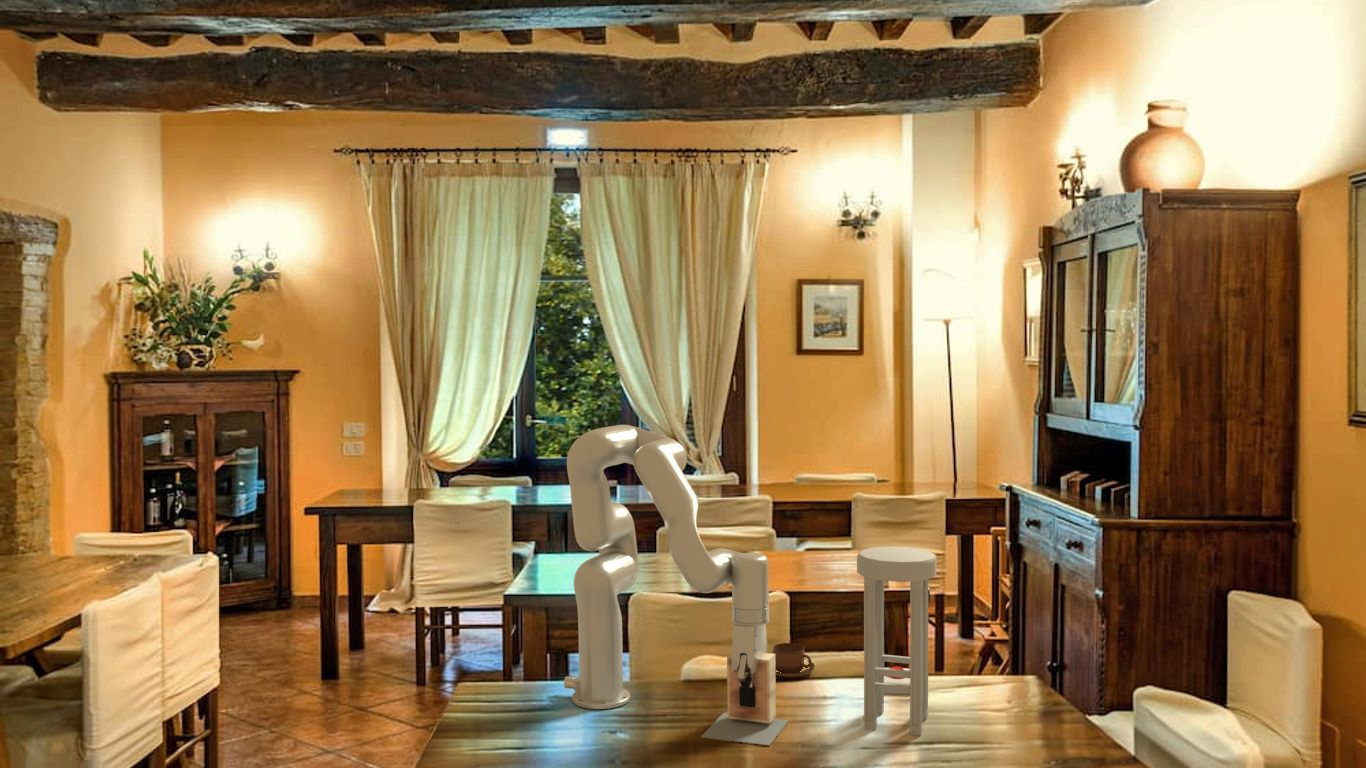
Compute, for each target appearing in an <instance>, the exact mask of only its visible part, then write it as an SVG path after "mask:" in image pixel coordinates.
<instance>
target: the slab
mask: <svg viewBox="0 0 1366 768" xmlns="http://www.w3.org/2000/svg"><path fill="white" fill-rule="evenodd" d="M726 666H727V667H726V670H727V671H726V672H727V673H726V674H727V675H726V679H727V680H726V681H727V682H726V683H727V685H726V686H727V688H726V689H727V690H726V691H727V696H726V697H727V713H728V718H730V719H738V720H746V721H754V722H762V723H771V721H772V720H773V719H776V715H777V708H776V707H777V701H776V700H777V699H776V698H777V696H776V693H777V692H776V691H777V690H776V689H777V688H776V685H777V684H776V681H777V680H776V679H777V676H776V668H775V654H773V653H770V652H767V653H764V654H763V655H762V657H760V658H759V661H758V669H757V672H755V673H754V687H755V707H746V706H740V687H739V680H738V672H739V669H738V671H737V672H733V671H732V651H731V652H729V653H728V654H727V656H726ZM739 666H740V663H739ZM739 666H738V667H739ZM746 671H747V672H750V671H751V669H747V670H746ZM746 677H748V678H749V680H750V675H746Z"/></svg>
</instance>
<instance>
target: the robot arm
mask: <svg viewBox="0 0 1366 768" xmlns="http://www.w3.org/2000/svg"><path fill="white" fill-rule="evenodd" d="M687 461H688V456H687V453H686V449H684V446H682V444H681V443H679V442H678V441H676V439H673V438H671V437H668V436H665V435H662V434H658V433H656V432H652V431H650V430H646V429H643V428H642V427H641V428H640V427H638V426H633V425H631V424H630V425H629V424H616V425H612V426H605V427H600V428H595V429H592V430H590V431H587V432H585V433H583V434H582V435H581V436H579V437H578V438H577V439H575V441H574V442H573V443H572V445H571V447H570V448H569V449H568V453H567V458H566V470H567V478H568V481H569V482H568V483H569V489H570V501H571V511H572V520H573V529H574V530H573V531H574V536H575V541H576V542H577V544H578V546H579V547H580V548H581V549H583V550H585V551H588V552H597V551H598V552H599V553H598V555H596V556H593V557H591V558H588V559H587V560H585V561H584V562H582V563H581V564H580V566H579V567H578V568H577V570H576V571H575V574H574V577H573V578H574V579H573V590H574V595H575V596H574V597H575V600H576V606H577V619H578V621H577V622H578V623H577V624H578V626H577V627H578V675H579V676H578V677H574V676H565V677H564V679H563V683H564V685H563V687H564V689H568V690H570V689H573V690H574V692H573V694H572V698H571V699H572V702H573V703H574V704H575V705H576V706H577V707H581V708H584V709H590V710H607V709H608V710H609V709H614V708H619V707H621V706H624V705H625V704H627V703H629V701H630V700H631V692H630V691H629V690H627V689H626V688H624V678H623V677H624V671H623V662H624V661H623V659H624V657H623V618H622V617H623V616H622V612H621V608H620V604H619V600H618V595H620V594H621V593H623V592H625V591H627V590H629V589H630V588H632V586H634V584H635V583H636V582H637V579H638V577H639V566H640V565H639V555H638V546H637V537H636V535H637V534H636V528H635V523H634V519H633V516H632V514H631V513H630V510H628V508H627V507H626V506H625V505H624V504H622V503H620V502H617V501H612V500H611V491H610V484H609V481H608V479H607V476H606V475H605V473H604V470H605V469H606V468H608V467H612V466H617V465H620V464H624V463H625V464H629V465H632V466H633V467H634V468H633V469H634V470H635V473H636V475H637V476H638V478H639V480H640V482H641V484H642V485H643V487H644V488H645V490H646V492H647V493H648V496H649V497H650V498H651V501H652V502H653V504H654V505H655V507H656V509H657V511H658V513H659V514H660V516H661V517H662V520H663V522H664V531H665V537H666V541H667V545H668V549H669V552H670V555H671V557H672V559H673V561H674V563H675V564H676V566H677V568H678V570H679V572H680V574H681V575H682V577H683V579H684V580H685V581H686V583H687V584H688V585H689V586H690V587H691V588H692V589H693V590H694V591H696V592H697V593H702V594H709V593H713V592H715V591H717V590H719V589H720V588H722V587H724V586H727V585H730V584H731V593H732V595H731V600H732V601H731V603H732V604H731V605H732V606H731V607H732V611H731V613H732V615H731V616H732V621H731V622H732V623H733V625H734V626H733V631H732V632H733V633H732V634H733V635H732V649H731V652H732V671H733V672H737V671H738V669H739V672H738V680H739V687H740V706H746V707H755V687H754V673H755V672H757V669H758V661H759V658H760V657H762V655H763V654H764V653H768V640H767V637H768V636H767V626H766V625H767V624H768V623H769V622H770V592H769V591H770V585H769V584H770V582H769V581H770V579H769V578H770V577H769V575H770V572H769V571H770V569H769V568H770V567H769V564H770V563H769V559H768V557H767V556H766V555H764V554H762V553H759V552H741V551H740V552H739V551H736V550H732V549H728V548H724V547H720V548H719V547H717V548H714V549H712V550H710V551H708V550H707V548H706V547H705V545H704V543H703V542H702V539H701V537H700V534H699V531H698V527H697V515H698V511H699V505H700V501H699V497H698V495H697V494H696V493H695V491H694V490H693V487H692V486H691V484H690V482H689V481H688V479H687V477H686V475H685V474H684V472H683V471H684V470H685V468H686V466H687ZM739 663H740V666H739ZM738 666H739V667H738ZM747 669H751V671H750V672H747V671H746V670H747ZM746 675H750V680H749V678H748V677H746Z"/></svg>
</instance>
